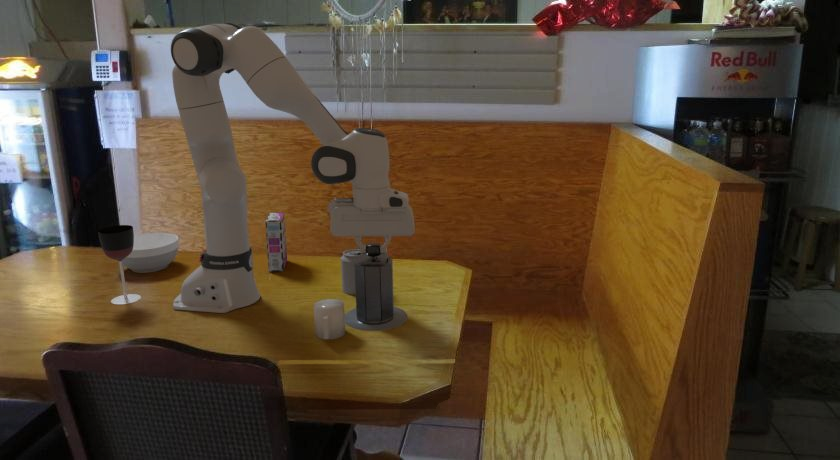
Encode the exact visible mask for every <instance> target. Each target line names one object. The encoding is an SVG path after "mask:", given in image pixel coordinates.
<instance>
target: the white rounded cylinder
mask: <svg viewBox="0 0 840 460" xmlns="http://www.w3.org/2000/svg"><path fill="white" fill-rule="evenodd" d="M344 315H345V302H343V301H342V300H340V299H335V298H326V299H321V300H318V301H316V302H315V303H313V316H314V317H313V318H314V319H313V320H314V334H315V336H316V337H317V338H318V339H320V340H335V339H340V338H341V337H343V336H344V335H346V334H345V333H346V324H345V317H344Z"/></svg>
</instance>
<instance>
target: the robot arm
mask: <svg viewBox="0 0 840 460" xmlns="http://www.w3.org/2000/svg"><path fill="white" fill-rule="evenodd" d="M170 43H171V44H170V57H171V58H172V61H173V63H174V66H173V68H172V70H171V74H172V75H171V77H172V84H173V86H172V87H173V93H174V98H175V103H176V105H177V110H178V113H179V117H180V121H181V125H182V127H183V131H184V135H185V137H186V140H187V142H186V143H187V144H188V149H189V152H190V155H191V159H192V162H193V166H194V169H195V173H196V177H197V181H198V183H199V186H200V191H201V193H200V194H201V201H202V205H201V206H202V213H203V215H202V217H203V229H204V237H205V249H203V251H202V253H201V254H200V255H199V257H198V262H199V263H200V264H201V265H199V266H198V267H197V268H196V269H194V270H193V271H192V272H191V273H190V274H189V275H188V276H187V277H186V278H185V279H184V280H183V282H182V285H181V290H180V293H179V294H178V295H177V296H176V297H175V299H174V300H173V303H172V307H173V309H174V310H176V311H179V310H180V311H192V312H201V313H202V312H206V313H215V314H216V313H218V314H219V313H220V314H225V313H229V312H230V311H233V310H237V309H240V308H243V307H244V308H245V307H247V306H250V305H253V304H255V303H256V302H257V301H259V300H260V298H261V294H260V292H259V290H258V289H259V288H258V286H257V283H256V280H255V275H254V270H253V268H254V256H253V252H252V247H251V246H250V236H249V235H250V234H249V223H248V187H247V185H248V184H247V178H246V174H245V172H244V171H243V170H242V169H241V166H240V164H239V161H238V160H239V159H238V157H237V156H238V155H237V153H236V147H235V142H234V137H233V132H232V126H231V123H230V120H229V117H228V113H227V109H226V105H225V102H224V98H223V93H222V90H221V86H220V79H221V77H222V75H223V74H224V73H225V74H228V75H229V74H230V73H232V72H234V71H236V72H237V73H238V74H239V75H240V76H241V78H242V79H243V81H244V82H245V83H246V85H247V86H248V87H249V89H250V90H251V92H252V93H253V94H254V95H255V97H256V98H258V99H259V100H260V101H261V102H262V103H263V104H264V105H265V106H266V107H268V108H269V109H273V110H275V111H276V110H277V111H280V112H284V113H287V114H290V115H292V116H294V117H296V118H298V119H299V120H301V121H302V122H303V123H304V124H305V125H306V126H307V127H308V128H309V130H310V131H311V132H312V133H313V134H314V135H315V137H316V138H317V139H318V140H319V142H320V143H321V144H322V146H320V147H318V148H317V149H316V150H315V151H314V152H313V154H312V156H311V159H310V160H311V162H310V165H311V170H312V173H313V174H314V176H315V177H316V179H317V180H319V181H320V182H321V183H323V184H327V185H338V184H342V183H346V182H351V183H352V197H342V198H341V197H334V199H332V200H330V201H329V203H328V205H327V206H328V207H327V208H328V213H329V215H330V224H329V226H330V227H329V228H330V230H329V231H330V232H329V233H330V235H332V237H336V238H337V237H338V238H339V237H346V238H347V237H353V238H354V242H355V243H356V245H357V246H358V248H359V249H360V254H366V244H363V242H362V241H361V240H362V237H384V241H385V242H384V244H381V246H380V250H381V251H380V254H388V253H387V251H388V250H387V249H388V248H387V247H388V245H389V244H390V241H391V240H392V237H412V236H413V235H414V234H415V217H414V212H413V207H411V205H410V204H409V203H410V202H409V201H410V198H409V194H408V193H406V192H403V191H401V190H400V191H399V190H396V189H393V188H391V182H390V179H389V171H390V165H391V164H390V152H389V151H390V149H389V144H388V140H387V139H388V138H387V137H386V135H385V133H383V132H381V131H379V130H378V129H374V128H369V127H368V128H367V127H357V128H355V129H353V130H352V131H351V132H350V133H348V132H347V131H346V130H345V129H344V128H343V127H342V126H341V125H340V123H339V122H338V121H337V120H336V119H335V118H334V116H333V115H332V113H330V111H329V110H328V109H327V108H326V106H325V105H324V104H323V103H322V102H321V101H320V99H319V98H318V97H317V96H316V95H315V94H314V92H313V91H312V90H311V88H309V86H308V85H307V84H306V83H305V81H304V80H303V78H302V77H301V76H300V74H299V73H298V72H297V70H296V69H295V67H294V66H293V65H292V63H291V61H290V60H289V59H288V58H287V57H286V55H285V54H284V52H283V50H281V49H280V48H279V47H278V45H277V44H276V43H275V42H274V41H273V40H272V39H271V37H269V36H268V35H267V34H266V33H265V32H264V31H263V30H262V29H261V28H259V27H256V26H253V25H248V26H241V25H240V24H236V23H231V22H225V23H208V24H205V25H201V26H197V27H190V28H189V27H188V28H186V29H184V30H182V31H179V32H178V33H177V34H176V35H175V36H174V37H173V39H172V41H171V42H170Z"/></svg>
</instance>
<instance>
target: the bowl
mask: <svg viewBox="0 0 840 460" xmlns="http://www.w3.org/2000/svg"><path fill="white" fill-rule="evenodd" d="M179 246H180V238H179V236H178V235H177V234H174V233H169V232H149V233H141V234H134V244H133V250H132V252H131V253H130V255H128V256H127V257H126V258H124V259H123V260H122V265H123V267H125V268H127V269H129V270H130V271H132V272H134V273H137V274H138V273H139V274H143V273H144V274H146V273H149V274H150V273H155V272H158V271H161V270H164V269H166V268H168V267H169V265H170V264H171V263H172V262H173V261H174V260H175V258H176V256H177V255H178V253H179Z"/></svg>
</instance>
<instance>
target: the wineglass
mask: <svg viewBox="0 0 840 460" xmlns="http://www.w3.org/2000/svg"><path fill="white" fill-rule="evenodd" d="M97 233H98V238H99V242H100V246H101V249H102V252H103V253H104V255H105V256H106V257H107V258H109V259H111V260H116V261H118V265H119V271H120V272H119V273H120V279H121V285H122V291H123V294H122V295H119V296H115V297H114V298H112V299H111V300H110V303H111V304H114V305H127V304H132V303H135V302H138V301H139V300H141V298H142V296H141V295H140V294H135V293H127V292H128V291H127V287H126V280H125V272H124V265H123V264H122V260H123V259H124V258H126V257H127V256H128V255H130V253H131V252H132V250H133V244H134V235H135V234H134V227H133V225H131V224H130V225H129V224H119V225H118V224H117V225H111V226H107V227H103V228H100V229H99V230H98V231H97Z"/></svg>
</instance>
